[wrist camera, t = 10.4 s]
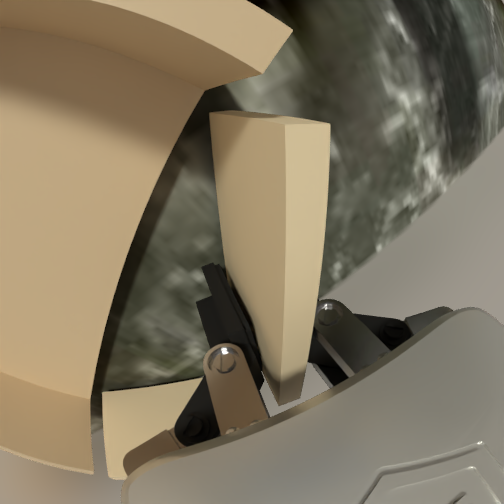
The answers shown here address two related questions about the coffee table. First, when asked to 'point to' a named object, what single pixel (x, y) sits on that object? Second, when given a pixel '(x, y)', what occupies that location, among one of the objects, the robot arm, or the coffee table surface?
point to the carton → (91, 180)
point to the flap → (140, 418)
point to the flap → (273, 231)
